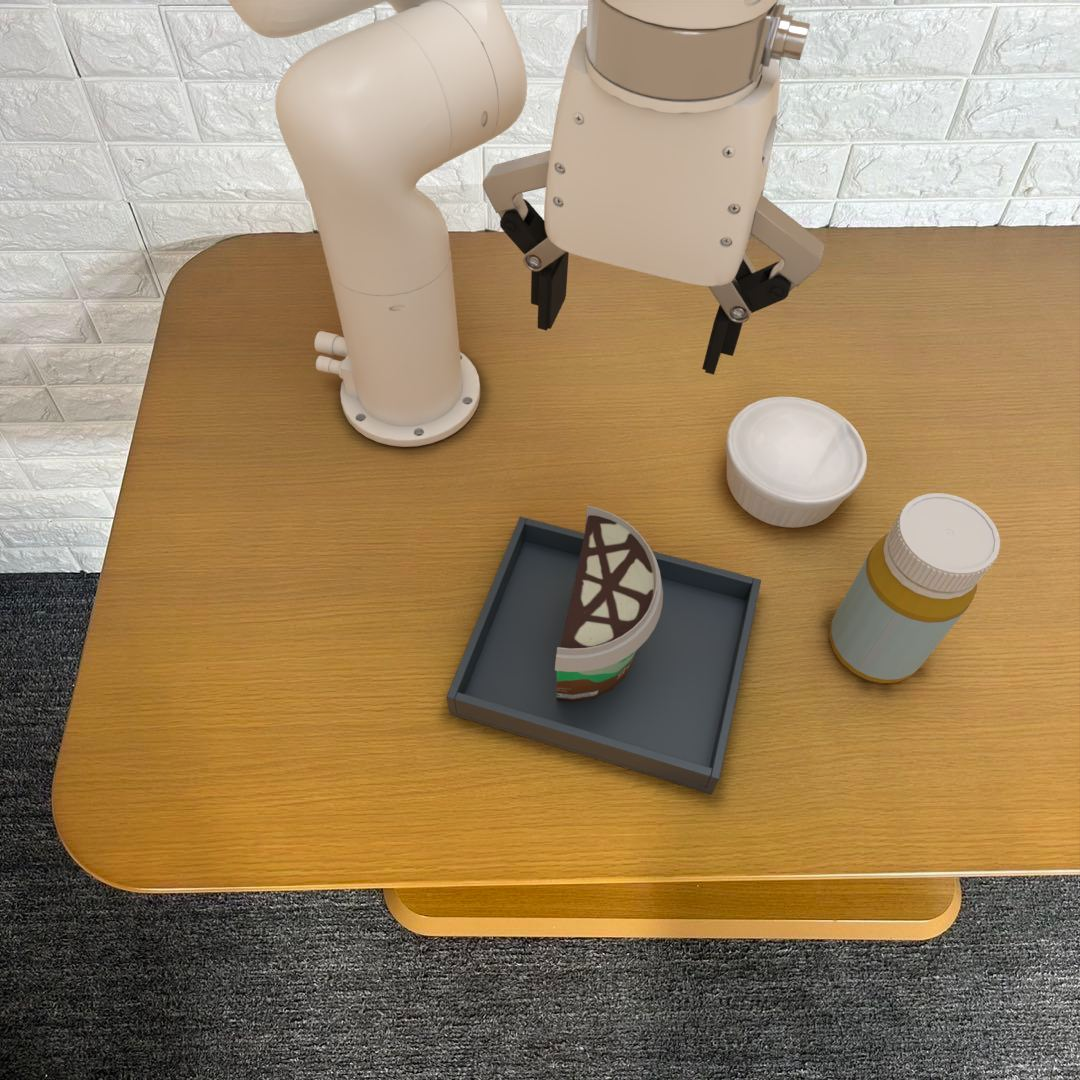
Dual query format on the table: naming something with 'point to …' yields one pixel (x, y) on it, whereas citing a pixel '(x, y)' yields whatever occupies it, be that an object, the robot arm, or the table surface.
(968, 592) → the bottle
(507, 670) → the tray
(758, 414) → the ramekin
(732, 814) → the table surface
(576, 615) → the food container
